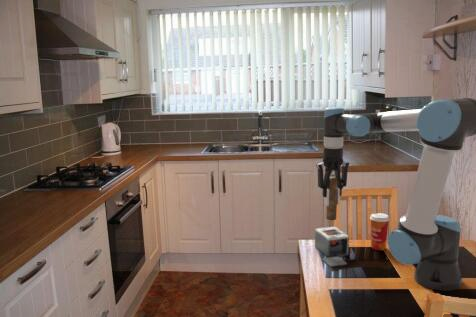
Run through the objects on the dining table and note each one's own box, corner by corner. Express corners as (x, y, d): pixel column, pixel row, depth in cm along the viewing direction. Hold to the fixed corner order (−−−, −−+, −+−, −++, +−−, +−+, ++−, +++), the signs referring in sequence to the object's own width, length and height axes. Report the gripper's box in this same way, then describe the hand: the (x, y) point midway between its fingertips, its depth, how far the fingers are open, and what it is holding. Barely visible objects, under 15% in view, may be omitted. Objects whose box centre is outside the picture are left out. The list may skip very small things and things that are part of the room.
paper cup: (365, 245, 185) (366, 213, 183) (380, 243, 188) (382, 211, 185) (376, 252, 178) (377, 219, 175) (392, 250, 180) (393, 217, 178)
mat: (338, 257, 174) (338, 256, 174) (346, 264, 167) (346, 263, 167) (321, 259, 172) (322, 258, 172) (330, 267, 166) (330, 265, 165)
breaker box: (315, 246, 185) (315, 228, 184) (334, 244, 188) (334, 226, 186) (327, 257, 174) (328, 238, 172) (348, 255, 176) (348, 236, 175)
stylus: (333, 216, 181) (334, 176, 178) (338, 219, 177) (339, 178, 174) (324, 217, 180) (325, 177, 177) (328, 220, 176) (330, 179, 173)
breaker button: (324, 242, 182) (324, 235, 181) (333, 241, 183) (333, 234, 182) (328, 246, 178) (329, 239, 177) (338, 245, 179) (339, 238, 178)
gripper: (348, 144, 178) (346, 199, 183) (309, 146, 174) (308, 203, 179) (357, 147, 171) (355, 204, 176) (317, 149, 167) (316, 208, 172)
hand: (331, 204), depth 177 cm, fingers closed on stylus, 4 cm apart
